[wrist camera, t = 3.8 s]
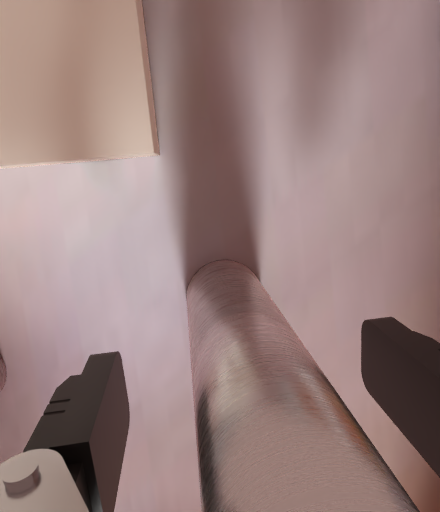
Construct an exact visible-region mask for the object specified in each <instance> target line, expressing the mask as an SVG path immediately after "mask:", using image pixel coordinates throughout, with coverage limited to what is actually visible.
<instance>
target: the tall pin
mask: <svg viewBox="0 0 440 512" xmlns="http://www.w3.org/2000/svg"><path fill="white" fill-rule="evenodd" d="M186 298H187V313H188V327H189V341H190V355H191V370H192V384H193V398H194V412H195V426H196V440H197V454H198V468H199V482H200V496H201V511H202V512H420V511H419V510H418V508H417V507H416V505H415V504H414V503H413V501H412V500H411V498H410V497H409V495H408V494H407V493H406V491H405V490H404V488H403V487H402V485H401V484H400V483H399V481H398V480H397V478H396V477H395V475H394V474H393V472H392V471H391V470H390V468H389V467H388V465H387V464H386V462H385V461H384V460H383V458H382V457H381V455H380V454H379V452H378V451H377V449H376V448H375V447H374V445H373V444H372V442H371V441H370V439H369V438H368V437H367V435H366V434H365V432H364V431H363V429H362V428H361V426H360V425H359V424H358V422H357V421H356V419H355V418H354V416H353V415H352V414H351V412H350V411H349V409H348V408H347V406H346V405H345V404H344V402H343V401H342V399H341V398H340V396H339V395H338V393H337V392H336V391H335V389H334V388H333V386H332V385H331V383H330V382H329V381H328V379H327V378H326V376H325V375H324V373H323V372H322V370H321V369H320V368H319V366H318V365H317V363H316V362H315V360H314V359H313V358H312V356H311V355H310V353H309V352H308V350H307V349H306V348H305V346H304V345H303V343H302V342H301V340H300V339H299V337H298V336H297V335H296V333H295V332H294V330H293V329H292V327H291V326H290V325H289V323H288V322H287V320H286V319H285V317H284V316H283V314H282V313H281V312H280V310H279V309H278V307H277V306H276V304H275V303H274V302H273V300H272V299H271V297H270V296H269V294H268V293H267V291H266V290H265V289H264V287H263V286H262V284H261V283H260V281H259V280H258V279H257V277H256V276H255V274H254V273H253V272H252V271H251V270H250V269H249V268H248V267H246V266H245V265H243V264H241V263H239V262H236V261H232V260H219V261H214V262H211V263H209V264H207V265H205V266H204V267H202V268H201V269H200V270H198V271H197V272H196V273H195V275H194V276H193V277H192V279H191V281H190V283H189V285H188V289H187V295H186Z"/></svg>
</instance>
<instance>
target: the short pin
mask: <svg viewBox="0 0 440 512" xmlns="http://www.w3.org/2000/svg"><path fill="white" fill-rule="evenodd" d="M5 381H6V367H5V364H4V361H3V359H2V358H1V356H0V392H1V390H2V389H3V387H4V385H5Z"/></svg>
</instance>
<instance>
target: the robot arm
mask: <svg viewBox="0 0 440 512" xmlns="http://www.w3.org/2000/svg"><path fill="white" fill-rule="evenodd" d="M361 372H362V378H363V382H364V385H365V387H366V389H367V391H368V392H369V394H370V395H371V396H372V397H373V398H374V400H375V401H376V402H377V403H378V404H379V406H380V407H381V408H382V409H383V410H384V412H385V413H386V414H387V415H388V416H389V418H390V419H391V420H392V421H393V422H394V424H395V425H396V426H397V427H398V428H399V430H400V431H401V432H402V433H403V434H404V436H405V437H406V438H407V439H408V440H409V441H410V443H411V444H412V445H413V446H414V447H415V449H416V450H417V451H418V452H419V453H420V455H421V456H422V457H423V458H424V459H425V461H426V462H427V463H428V464H429V465H430V467H431V468H432V469H433V470H434V471H435V473H436V474H437V475H438V476H439V477H440V343H438V342H437V341H435V340H434V339H433V338H430V337H428V336H425V335H422V334H420V333H417V332H414V331H411V330H410V329H409V328H407V327H406V326H404V325H403V324H402V323H400V322H399V321H397V320H396V319H395V318H393V317H385V318H378V319H370V320H365V321H364V322H363V324H362V331H361ZM129 419H130V414H129V402H128V395H127V389H126V383H125V377H124V371H123V365H122V359H121V355H120V353H119V352H118V351H117V352H109V353H101V354H94V355H90V356H89V358H88V361H87V363H86V365H85V367H84V370H83V372H82V374H81V375H75V376H70V377H69V378H68V379H67V380H66V381H64V382H63V383H62V384H61V385H60V386H59V387H58V388H56V390H55V392H54V394H53V396H52V398H51V400H50V404H48V405H47V407H46V409H45V411H44V415H43V416H42V417H41V419H40V421H39V422H38V424H37V426H36V428H35V430H34V432H33V434H32V436H31V438H30V439H29V441H28V443H27V445H26V447H25V449H24V451H23V453H20V454H18V455H16V456H14V457H12V458H10V459H8V460H6V461H5V462H3V463H1V464H0V512H114V508H115V502H116V497H117V491H118V485H119V480H120V474H121V469H122V463H123V457H124V452H125V446H126V441H127V435H128V429H129Z"/></svg>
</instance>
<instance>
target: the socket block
mask: <svg viewBox="0 0 440 512" xmlns="http://www.w3.org/2000/svg"><path fill="white" fill-rule="evenodd" d="M158 155H160V152H159V143H158V135H157V126H156V118H155V109H154V100H153V92H152V83H151V75H150V66H149V58H148V49H147V41H146V32H145V24H144V15H143V7H142V0H0V169H4V168H16V167H28V166H40V165H52V164H63V163H75V162H87V161H99V160H111V159H123V158H135V157H146V156H158Z"/></svg>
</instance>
